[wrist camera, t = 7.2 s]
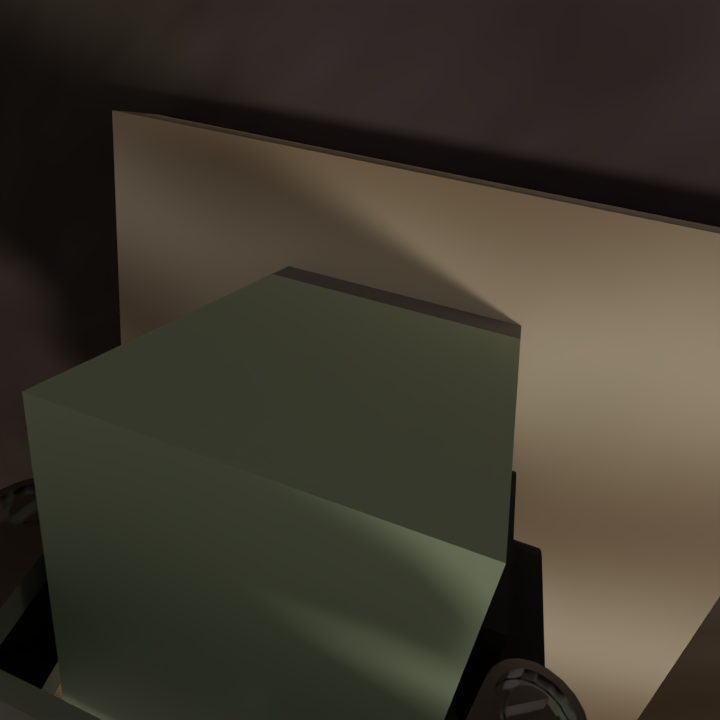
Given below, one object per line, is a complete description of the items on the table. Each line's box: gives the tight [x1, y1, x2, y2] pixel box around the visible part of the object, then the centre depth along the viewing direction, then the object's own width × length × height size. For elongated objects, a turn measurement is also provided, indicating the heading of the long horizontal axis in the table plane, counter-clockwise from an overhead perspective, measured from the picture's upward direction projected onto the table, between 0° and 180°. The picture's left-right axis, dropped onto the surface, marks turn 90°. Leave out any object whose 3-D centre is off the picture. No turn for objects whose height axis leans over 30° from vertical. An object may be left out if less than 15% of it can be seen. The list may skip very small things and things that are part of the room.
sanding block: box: [22, 266, 521, 720], centre depth 9 cm, size 8×5×6 cm, turn 170°
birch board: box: [112, 110, 720, 720], centre depth 15 cm, size 24×15×2 cm, turn 170°
